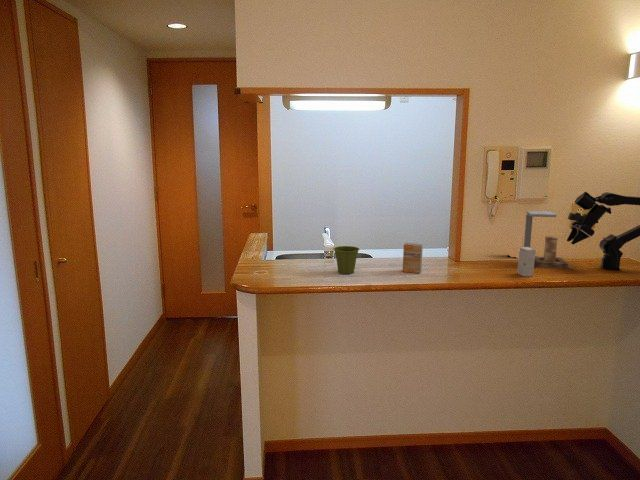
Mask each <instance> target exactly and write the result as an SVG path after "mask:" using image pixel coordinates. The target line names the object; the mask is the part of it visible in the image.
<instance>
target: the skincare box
mask: <svg viewBox="0 0 640 480" xmlns="http://www.w3.org/2000/svg"><path fill="white" fill-rule="evenodd" d="M536 251H537V250H536V249H534V248H533V247H532V248H531V247H530V248H529V247H524V246H522V247H520V251H519V258H518V261H517V262H518V263H517V270H516V273H517V275H520V276H522V277H533V276H534V261H535V256H536Z"/></svg>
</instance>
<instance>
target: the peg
mask: <svg viewBox="0 0 640 480" xmlns="http://www.w3.org/2000/svg"><path fill="white" fill-rule="evenodd" d="M544 239H545V240H544V249H543V250H544V251H543V257H544V260H543V261H545V262H555V260H556V257H557V249H558V248H557V247H558V246H557V245H558V237H557V236H551V235H550V236H548V235H547V236H545V238H544Z"/></svg>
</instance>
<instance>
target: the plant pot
mask: <svg viewBox="0 0 640 480" xmlns="http://www.w3.org/2000/svg"><path fill="white" fill-rule="evenodd" d="M333 251H334V254H335V259H336V264H337V265H336V266H337V272H338V273H339V274H341V275H346V274H347V275H352V274H355V268H356V263H357V258H358V257H357V256H358V254H359V251H360V248H359V247H356V246H352V245H350V246H349V245H342V246H341V245H340V246H339V245H338V246H335V247H333Z"/></svg>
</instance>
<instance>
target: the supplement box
mask: <svg viewBox="0 0 640 480" xmlns="http://www.w3.org/2000/svg"><path fill="white" fill-rule="evenodd" d="M423 247H424V243H411V242H410V243H409V242H404V243H403V252H402V255H403V256H402V272H403V273H413V274H421V272H422V269H423V268H422V267H423V250H424V249H423Z"/></svg>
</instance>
